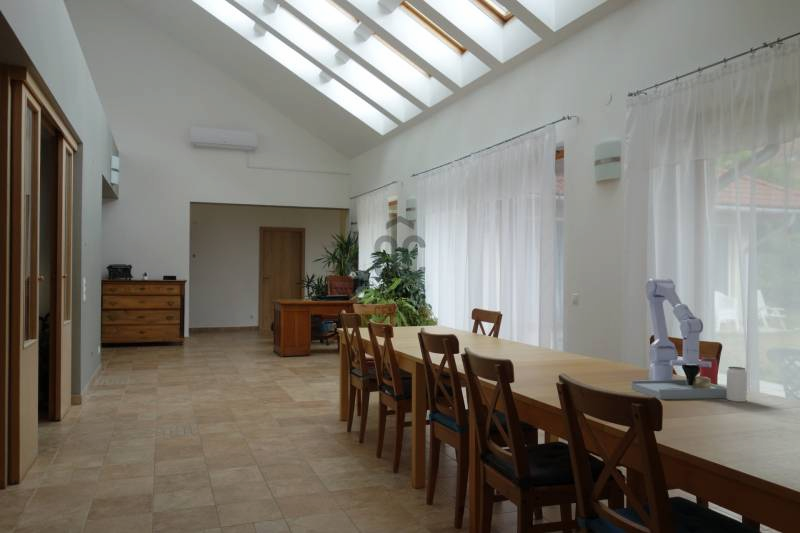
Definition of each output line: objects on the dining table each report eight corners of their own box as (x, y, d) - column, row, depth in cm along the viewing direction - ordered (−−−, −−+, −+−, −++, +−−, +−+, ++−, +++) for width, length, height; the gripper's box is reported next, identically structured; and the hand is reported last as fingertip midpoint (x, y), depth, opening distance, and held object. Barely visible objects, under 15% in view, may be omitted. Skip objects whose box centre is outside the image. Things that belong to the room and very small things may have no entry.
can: (741, 399, 231) (742, 366, 231) (749, 402, 225) (750, 369, 225) (723, 398, 232) (724, 366, 232) (730, 401, 225) (731, 368, 225)
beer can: (695, 385, 257) (696, 356, 257) (707, 384, 260) (707, 356, 260) (709, 388, 251) (710, 359, 251) (721, 387, 254) (721, 358, 254)
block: (696, 388, 236) (696, 378, 236) (692, 386, 241) (692, 376, 241) (710, 389, 235) (710, 378, 235) (705, 387, 240) (706, 376, 240)
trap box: (631, 389, 246) (631, 380, 246) (697, 388, 252) (697, 379, 252) (660, 399, 228) (660, 389, 228) (730, 397, 233) (730, 388, 233)
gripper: (674, 350, 236) (673, 385, 236) (714, 351, 234) (713, 387, 234) (668, 348, 243) (668, 382, 243) (708, 349, 241) (707, 384, 241)
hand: (690, 385), depth 239 cm, fingers closed
